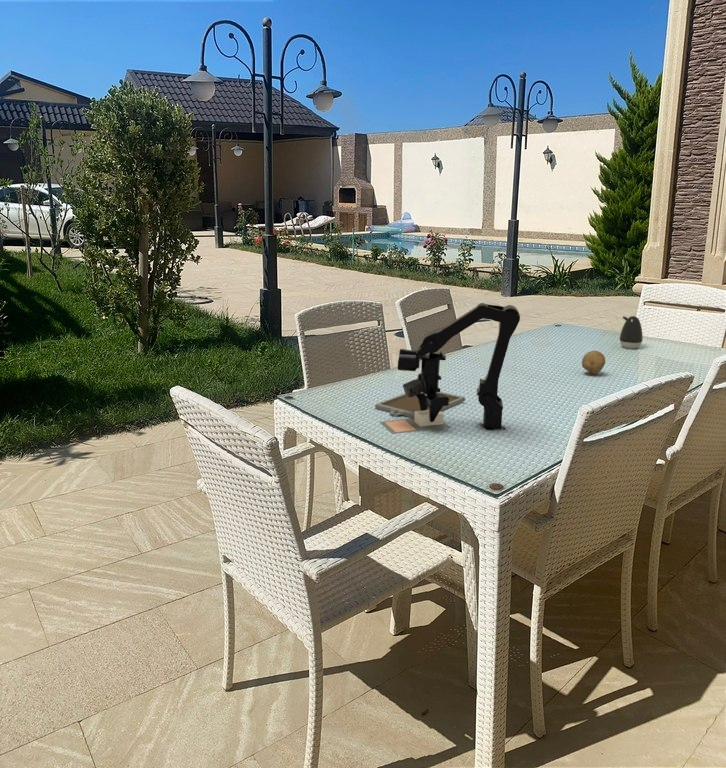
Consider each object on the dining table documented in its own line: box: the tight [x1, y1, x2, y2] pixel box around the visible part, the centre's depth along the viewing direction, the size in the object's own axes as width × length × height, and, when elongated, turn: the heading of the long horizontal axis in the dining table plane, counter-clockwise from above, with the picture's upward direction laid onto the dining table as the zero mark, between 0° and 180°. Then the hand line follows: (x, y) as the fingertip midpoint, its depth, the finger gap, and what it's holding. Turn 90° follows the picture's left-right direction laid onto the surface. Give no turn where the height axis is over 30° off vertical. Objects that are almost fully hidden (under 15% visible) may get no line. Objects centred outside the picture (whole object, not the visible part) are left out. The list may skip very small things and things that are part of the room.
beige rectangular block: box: [414, 410, 445, 427], centre depth 234 cm, size 5×8×4 cm, turn 109°
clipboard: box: [374, 391, 466, 419], centre depth 252 cm, size 19×2×30 cm
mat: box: [379, 418, 452, 435], centre depth 233 cm, size 12×20×1 cm, turn 109°
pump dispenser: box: [619, 315, 644, 350], centre depth 342 cm, size 10×10×15 cm
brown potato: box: [581, 350, 606, 375], centre depth 295 cm, size 9×9×10 cm
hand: (427, 418), depth 235 cm, fingers open, 7 cm apart
